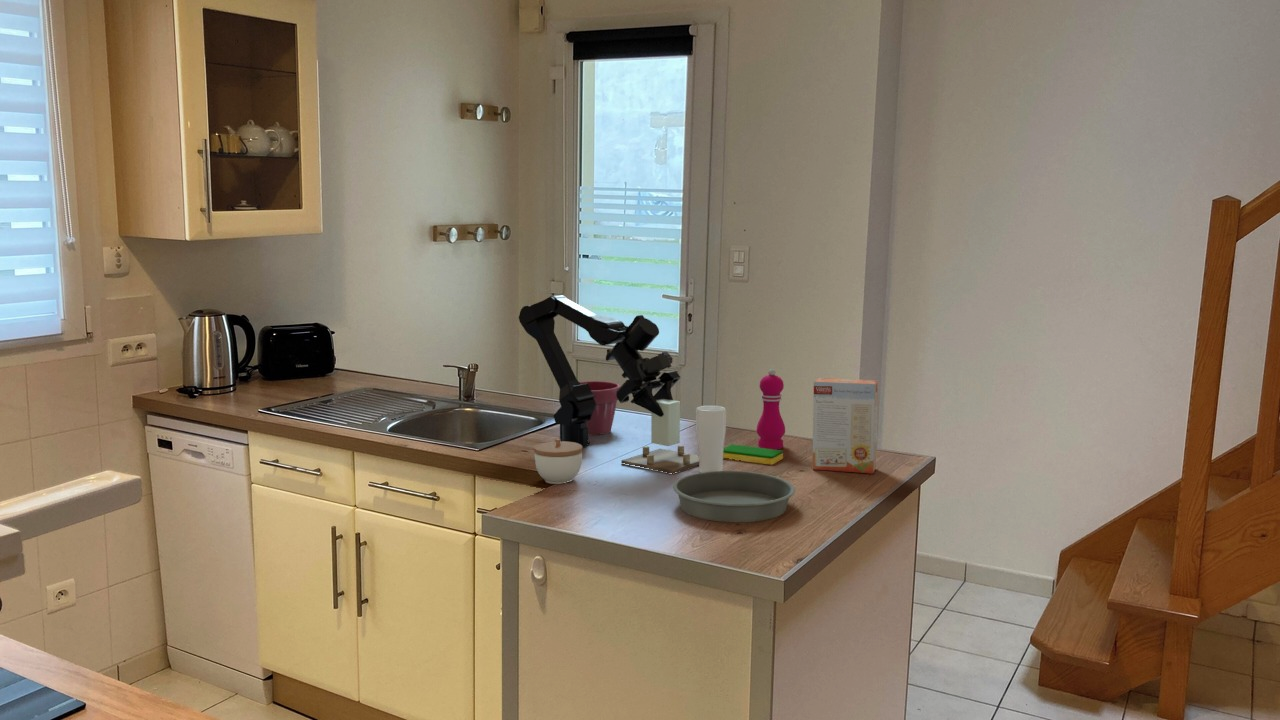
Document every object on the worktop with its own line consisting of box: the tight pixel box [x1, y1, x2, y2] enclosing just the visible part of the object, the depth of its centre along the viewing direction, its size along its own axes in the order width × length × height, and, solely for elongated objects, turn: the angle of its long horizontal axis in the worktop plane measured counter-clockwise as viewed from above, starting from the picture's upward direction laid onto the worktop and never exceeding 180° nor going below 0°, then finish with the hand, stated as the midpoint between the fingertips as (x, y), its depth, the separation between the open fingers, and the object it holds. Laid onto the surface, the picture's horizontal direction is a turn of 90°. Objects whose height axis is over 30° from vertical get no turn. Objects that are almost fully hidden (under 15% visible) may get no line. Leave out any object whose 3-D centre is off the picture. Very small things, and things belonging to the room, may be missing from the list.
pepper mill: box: [755, 368, 786, 450], centre depth 252 cm, size 7×7×20 cm
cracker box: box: [811, 377, 879, 474], centre depth 229 cm, size 14×6×21 cm, turn 71°
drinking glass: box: [695, 404, 727, 473], centre depth 227 cm, size 7×7×15 cm
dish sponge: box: [723, 443, 784, 465], centre depth 242 cm, size 7×14×2 cm, turn 60°
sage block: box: [650, 399, 681, 447], centre depth 236 cm, size 5×4×10 cm
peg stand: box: [620, 444, 699, 475], centre depth 237 cm, size 15×15×3 cm
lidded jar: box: [533, 438, 584, 485], centre depth 221 cm, size 11×11×9 cm
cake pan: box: [672, 470, 796, 523], centre depth 202 cm, size 25×25×4 cm
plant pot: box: [579, 380, 621, 436], centre depth 271 cm, size 14×14×13 cm
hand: (668, 414), depth 235 cm, fingers closed on sage block, 4 cm apart
